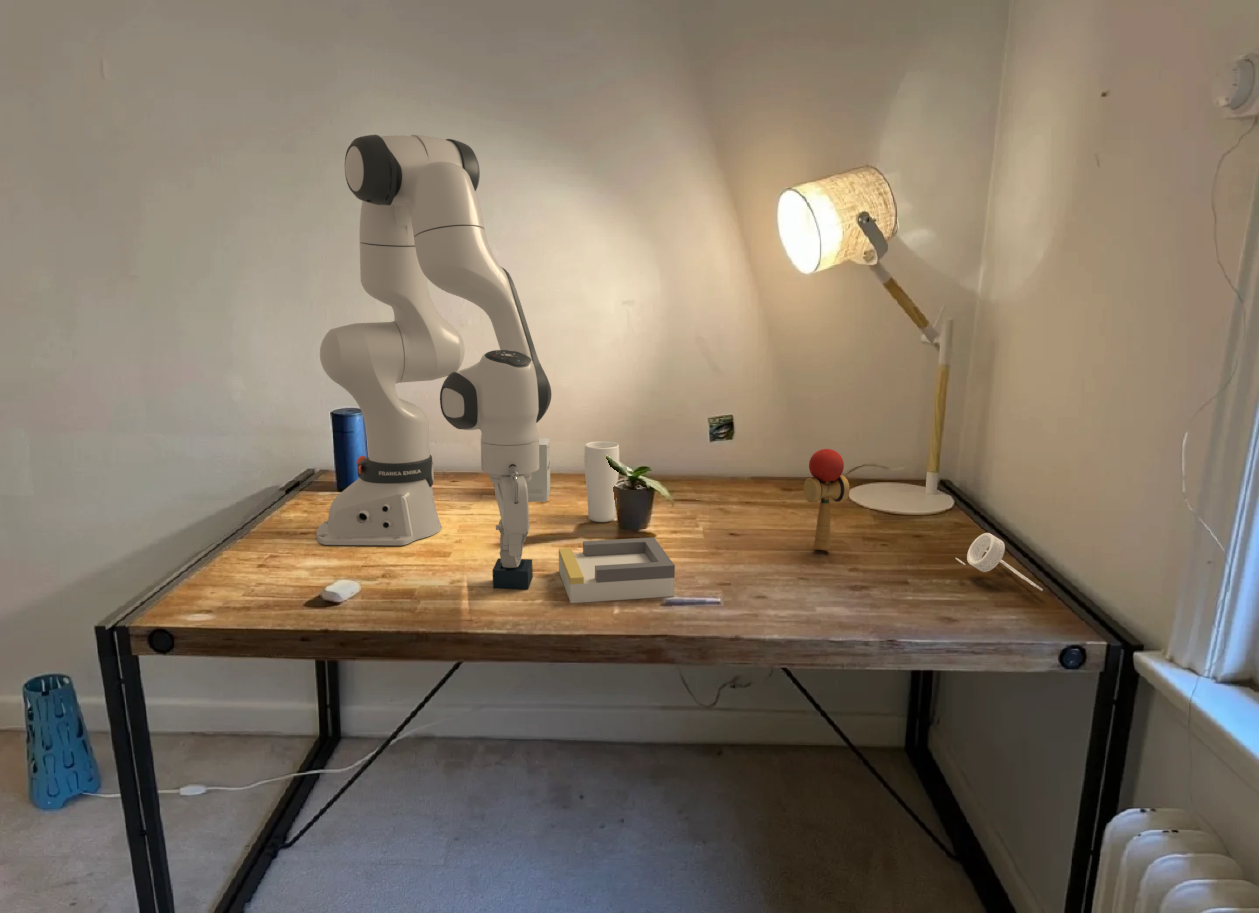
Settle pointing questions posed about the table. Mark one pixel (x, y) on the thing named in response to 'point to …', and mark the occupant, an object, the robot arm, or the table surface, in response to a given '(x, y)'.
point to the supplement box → (541, 475)
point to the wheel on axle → (989, 555)
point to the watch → (511, 566)
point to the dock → (612, 587)
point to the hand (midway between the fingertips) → (512, 544)
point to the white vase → (600, 480)
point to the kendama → (825, 490)
